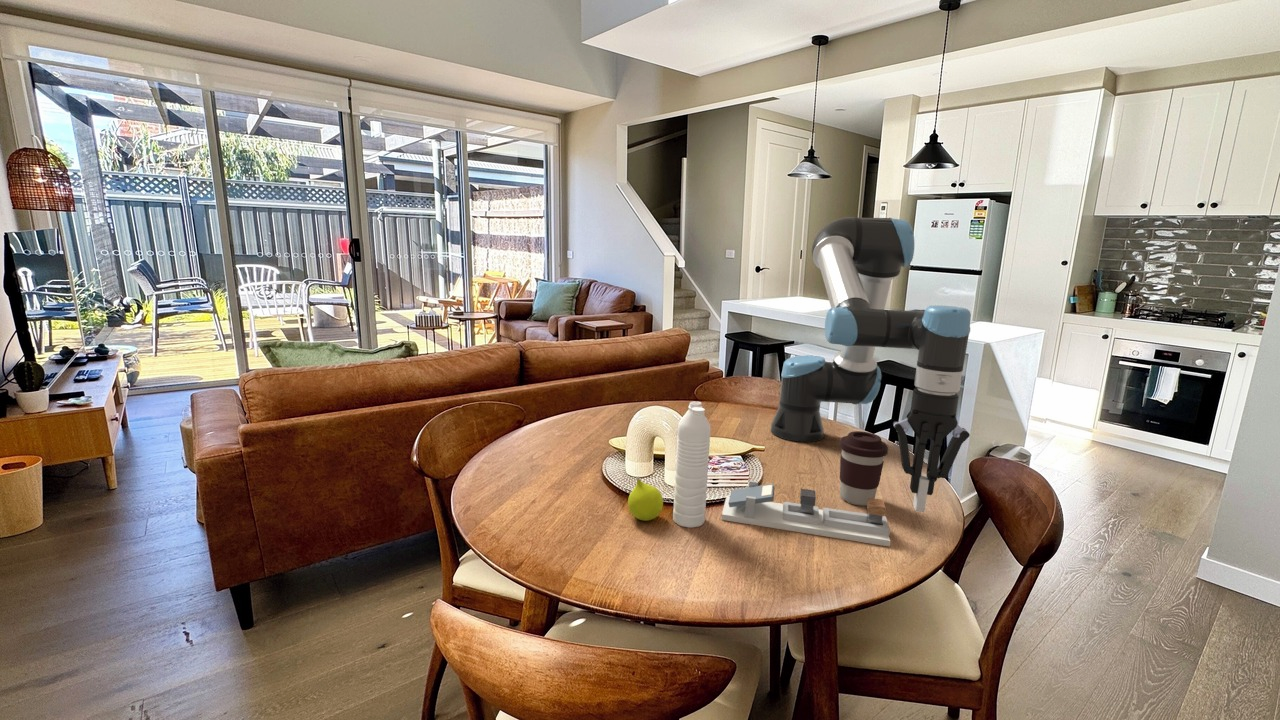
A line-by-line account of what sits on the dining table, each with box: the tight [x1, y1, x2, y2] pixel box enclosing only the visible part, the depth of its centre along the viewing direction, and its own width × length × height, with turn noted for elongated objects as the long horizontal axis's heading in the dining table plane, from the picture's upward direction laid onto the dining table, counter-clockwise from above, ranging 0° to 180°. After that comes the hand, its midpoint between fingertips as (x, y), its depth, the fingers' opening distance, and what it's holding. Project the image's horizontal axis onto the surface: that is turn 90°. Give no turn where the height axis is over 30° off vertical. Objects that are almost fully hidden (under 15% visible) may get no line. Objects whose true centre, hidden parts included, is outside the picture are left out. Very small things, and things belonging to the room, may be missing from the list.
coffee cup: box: [839, 430, 889, 507], centre depth 125 cm, size 10×10×15 cm
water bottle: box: [672, 400, 712, 529], centre depth 110 cm, size 9×6×25 cm
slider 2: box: [866, 498, 886, 525], centre depth 111 cm, size 3×3×5 cm
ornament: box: [627, 471, 664, 522], centre depth 113 cm, size 7×7×10 cm
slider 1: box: [799, 488, 817, 515], centre depth 114 cm, size 3×3×5 cm
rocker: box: [729, 483, 775, 507], centre depth 117 cm, size 7×9×1 cm
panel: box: [721, 479, 891, 548], centre depth 114 cm, size 9×32×6 cm, turn 75°
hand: (918, 508), depth 108 cm, fingers closed
